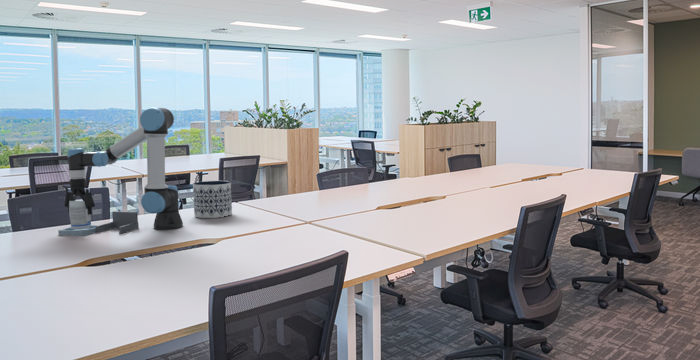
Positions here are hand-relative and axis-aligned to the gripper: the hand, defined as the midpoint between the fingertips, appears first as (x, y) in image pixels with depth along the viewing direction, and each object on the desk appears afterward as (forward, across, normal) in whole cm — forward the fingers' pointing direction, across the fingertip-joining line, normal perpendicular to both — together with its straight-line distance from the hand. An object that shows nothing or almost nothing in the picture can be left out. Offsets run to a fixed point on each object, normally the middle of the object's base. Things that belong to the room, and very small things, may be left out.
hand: (80, 220), depth 280 cm
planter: (+7, -45, -58) cm, 74 cm away
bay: (+7, -16, -8) cm, 19 cm away
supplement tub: (+4, 0, 0) cm, 4 cm away
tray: (+7, 0, 0) cm, 7 cm away
